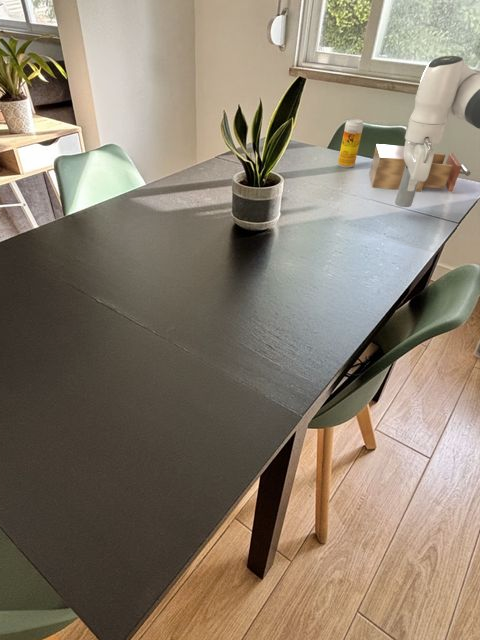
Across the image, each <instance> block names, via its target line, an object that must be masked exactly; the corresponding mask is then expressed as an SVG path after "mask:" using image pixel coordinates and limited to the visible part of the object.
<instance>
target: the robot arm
mask: <svg viewBox="0 0 480 640" xmlns="http://www.w3.org/2000/svg"><path fill="white" fill-rule="evenodd" d="M451 116H454V117H456V118H457V119H460V120H463V121H465V122H466V123H468V124H470V125H472V126H473V127H475V128H476V129H479V130H480V72H478V71H476V70H474V69H472V68H471V67H469V66H468V65H467V64H466V63H465V61H464V59H463V57H461V56H458V55H445V56H440V57H437V58H434V59H432V60H431V61H430V62H429V63H428V64H427V66H426V67H425V69H424V71H423V73H422V76H421V78H420V81H419V85H418V88H417V91H416V94H415V99H414V108H413V110H412V113H411V114H410V117H409V120H408V123H407V125H406V128H405V135H404V139H405V142H404V145H403V146H404V152H403V158H404V161H405V163H406V165H407V168H408V171H409V174H410V181H409V183H408V185H407V190H408V191H414V189H415V186H416V184H417V182H418V181H426V179H427V178H428V175H429V172H430V168H431V164H432V161H433V156H434V153H435V149H434V146H435V145H436V144H439V143H441V141H442V138H443V135H444V132H445V130H446V126H447V124H448V121H449V118H450V117H451Z"/></svg>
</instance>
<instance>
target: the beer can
mask: <svg viewBox="0 0 480 640" xmlns="http://www.w3.org/2000/svg"><path fill="white" fill-rule="evenodd" d="M363 129H364V121H363V120H362V119H358V118H349V119H347V120H346V122H345V125H344V131H343V135H342V140H341V144H340V149H339V155H338V160H337V164H338V166H339V167H341V168H346V169H351V168H353V167H354V166H355V164H356V160H357V156H358V151H359V147H360V142H361V139H362V134H363Z"/></svg>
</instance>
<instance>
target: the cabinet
mask: <svg viewBox="0 0 480 640" xmlns="http://www.w3.org/2000/svg"><path fill="white" fill-rule="evenodd" d="M404 146H405V145H393V144H379V143H376V145H375V149H374V153H373V157H372V160H371V164H370V169H369V178H370V183H371V188H375V189H386V190H397V191H398V190H399V187H400V183H401V180H402V176H403V173H404V169H405V166H406V163H405V161H404V158H403V152H404ZM424 182H425V181H419V183H418V186H417V189H416V192H420V193H422V190H423V188H424V187H423V185H424Z"/></svg>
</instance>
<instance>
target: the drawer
mask: <svg viewBox="0 0 480 640" xmlns="http://www.w3.org/2000/svg"><path fill="white" fill-rule="evenodd" d="M446 157H447V158H446ZM445 158H446V160H445ZM444 161H446V162H445V163H444ZM460 174H461V175H465V177H469V176H470V175H471V174H472V173H471V171H470V169H469V168H468V166H467V165H466V164H465V163H463V164H461V163H460V162H459V159H457V157H456V155H455V154H454V153H451V152H449V153H448V156H446V153H437V152H434V156H433V161H432V164H431V168H430V172H429V175H428V178H427V179H426V181H425V182H424V185H423V188H431V189H442V190H444V189H445V187H446V189H447V191H448V192H453V190H454V188H455V185H456V183H457V180H458V177H459V175H460Z"/></svg>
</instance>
